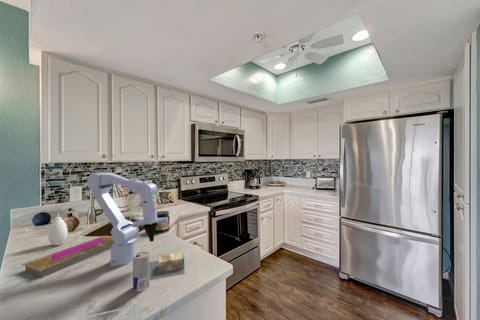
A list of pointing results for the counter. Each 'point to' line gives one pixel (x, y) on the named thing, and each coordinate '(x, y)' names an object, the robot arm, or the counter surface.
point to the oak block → (171, 262)
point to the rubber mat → (156, 274)
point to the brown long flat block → (90, 245)
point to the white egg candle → (57, 231)
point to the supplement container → (163, 226)
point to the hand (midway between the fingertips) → (151, 240)
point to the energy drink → (141, 271)
